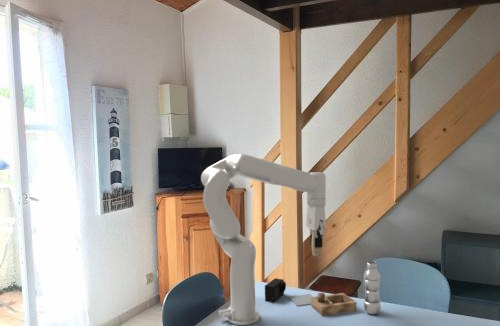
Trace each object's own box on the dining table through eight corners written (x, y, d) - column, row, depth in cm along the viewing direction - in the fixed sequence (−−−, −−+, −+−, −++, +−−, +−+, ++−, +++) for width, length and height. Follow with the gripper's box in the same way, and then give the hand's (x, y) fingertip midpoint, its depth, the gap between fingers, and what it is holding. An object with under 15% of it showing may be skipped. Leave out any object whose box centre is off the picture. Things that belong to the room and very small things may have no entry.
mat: (297, 306, 166) (297, 305, 166) (288, 297, 176) (288, 296, 176) (319, 303, 169) (319, 302, 169) (309, 294, 178) (309, 293, 178)
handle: (323, 257, 164) (323, 221, 164) (307, 256, 166) (307, 220, 165) (324, 254, 169) (324, 219, 168) (309, 253, 170) (309, 218, 170)
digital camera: (276, 303, 170) (276, 287, 169) (265, 301, 172) (264, 285, 172) (286, 295, 179) (286, 279, 178) (275, 293, 181) (274, 278, 181)
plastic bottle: (363, 315, 156) (362, 264, 155) (364, 308, 162) (364, 259, 161) (380, 317, 154) (380, 265, 153) (381, 310, 160) (380, 260, 159)
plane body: (321, 316, 156) (321, 299, 156) (310, 305, 166) (310, 290, 166) (356, 310, 160) (356, 294, 160) (343, 301, 170) (343, 286, 170)
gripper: (300, 199, 174) (300, 241, 174) (315, 205, 157) (315, 251, 158) (316, 199, 175) (316, 240, 176) (333, 204, 159) (333, 250, 160)
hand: (316, 245), depth 167 cm, fingers closed on handle, 4 cm apart
